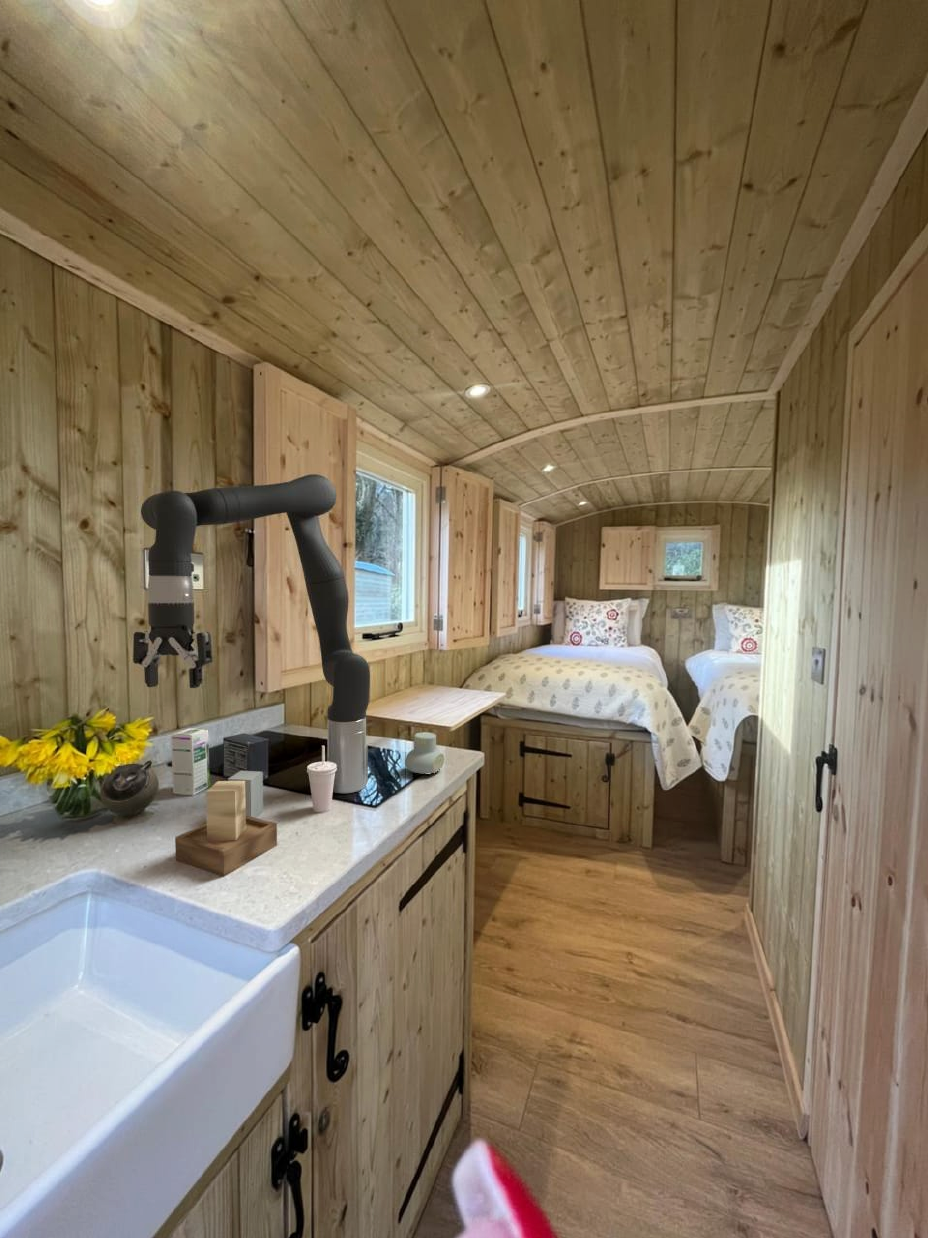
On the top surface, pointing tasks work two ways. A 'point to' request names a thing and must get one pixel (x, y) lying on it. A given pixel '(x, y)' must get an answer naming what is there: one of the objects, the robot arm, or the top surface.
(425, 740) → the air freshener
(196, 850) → the walnut tray
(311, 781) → the smoothie
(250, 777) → the grey block
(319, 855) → the top surface
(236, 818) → the oak block
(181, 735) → the syrup box
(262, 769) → the small box
